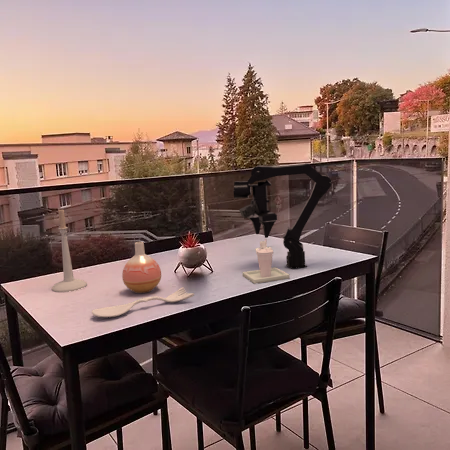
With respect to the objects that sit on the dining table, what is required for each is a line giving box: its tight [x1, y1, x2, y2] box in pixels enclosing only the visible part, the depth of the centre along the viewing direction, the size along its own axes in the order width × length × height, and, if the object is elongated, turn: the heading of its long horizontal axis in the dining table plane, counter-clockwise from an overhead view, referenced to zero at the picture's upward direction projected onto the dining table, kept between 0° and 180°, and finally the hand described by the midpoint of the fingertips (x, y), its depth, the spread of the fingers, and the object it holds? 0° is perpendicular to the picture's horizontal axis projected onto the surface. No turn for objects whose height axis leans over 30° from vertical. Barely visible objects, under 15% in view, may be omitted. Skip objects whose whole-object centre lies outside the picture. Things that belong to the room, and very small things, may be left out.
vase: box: [121, 241, 162, 294], centre depth 164 cm, size 14×14×18 cm
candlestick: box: [51, 209, 88, 293], centre depth 174 cm, size 13×13×30 cm
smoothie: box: [255, 238, 274, 277], centre depth 173 cm, size 6×6×14 cm
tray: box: [241, 267, 291, 285], centre depth 174 cm, size 14×12×2 cm
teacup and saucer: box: [254, 240, 273, 251], centre depth 222 cm, size 9×8×4 cm
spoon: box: [91, 287, 195, 318], centre depth 147 cm, size 9×32×4 cm, turn 119°
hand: (261, 236), depth 187 cm, fingers open, 9 cm apart
